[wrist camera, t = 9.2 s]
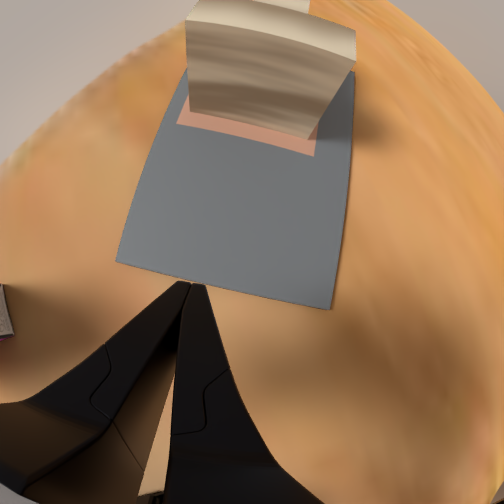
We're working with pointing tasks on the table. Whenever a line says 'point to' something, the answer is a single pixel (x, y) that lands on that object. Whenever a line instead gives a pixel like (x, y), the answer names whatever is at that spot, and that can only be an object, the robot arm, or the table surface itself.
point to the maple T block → (265, 62)
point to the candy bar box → (5, 318)
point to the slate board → (244, 203)
